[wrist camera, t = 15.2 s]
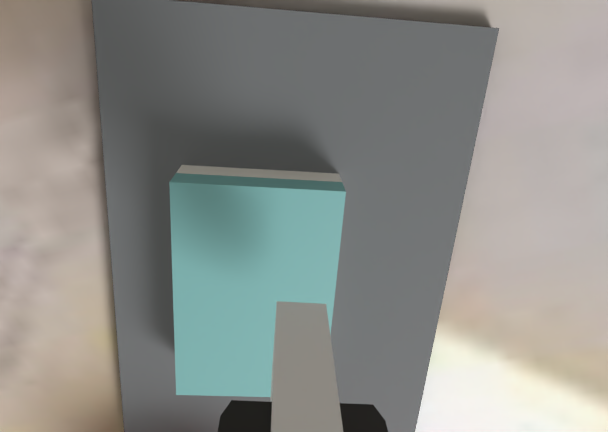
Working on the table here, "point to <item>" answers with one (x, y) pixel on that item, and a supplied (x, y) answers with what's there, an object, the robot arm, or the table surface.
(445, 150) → the mat
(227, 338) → the tile
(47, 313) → the table surface
